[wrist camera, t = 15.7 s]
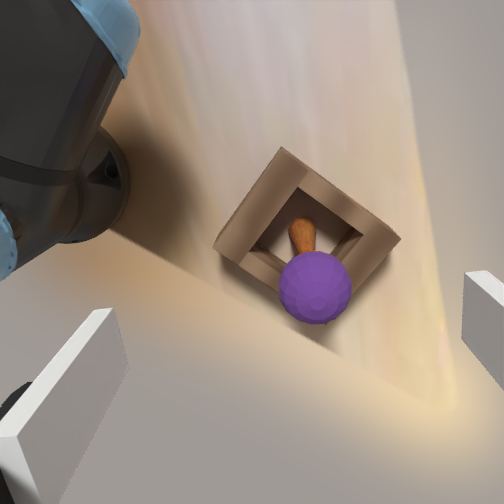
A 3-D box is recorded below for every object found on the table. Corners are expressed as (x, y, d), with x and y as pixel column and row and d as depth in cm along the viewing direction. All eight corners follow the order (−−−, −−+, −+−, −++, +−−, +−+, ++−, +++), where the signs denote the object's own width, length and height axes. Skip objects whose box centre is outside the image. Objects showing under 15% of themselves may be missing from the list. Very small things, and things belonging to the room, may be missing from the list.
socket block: (218, 235, 52) (212, 247, 47) (281, 146, 48) (282, 150, 43) (321, 305, 54) (325, 324, 49) (389, 226, 50) (401, 238, 46)
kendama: (297, 263, 52) (310, 351, 34) (267, 226, 51) (263, 297, 32) (336, 234, 51) (373, 309, 32) (307, 196, 50) (326, 251, 31)
